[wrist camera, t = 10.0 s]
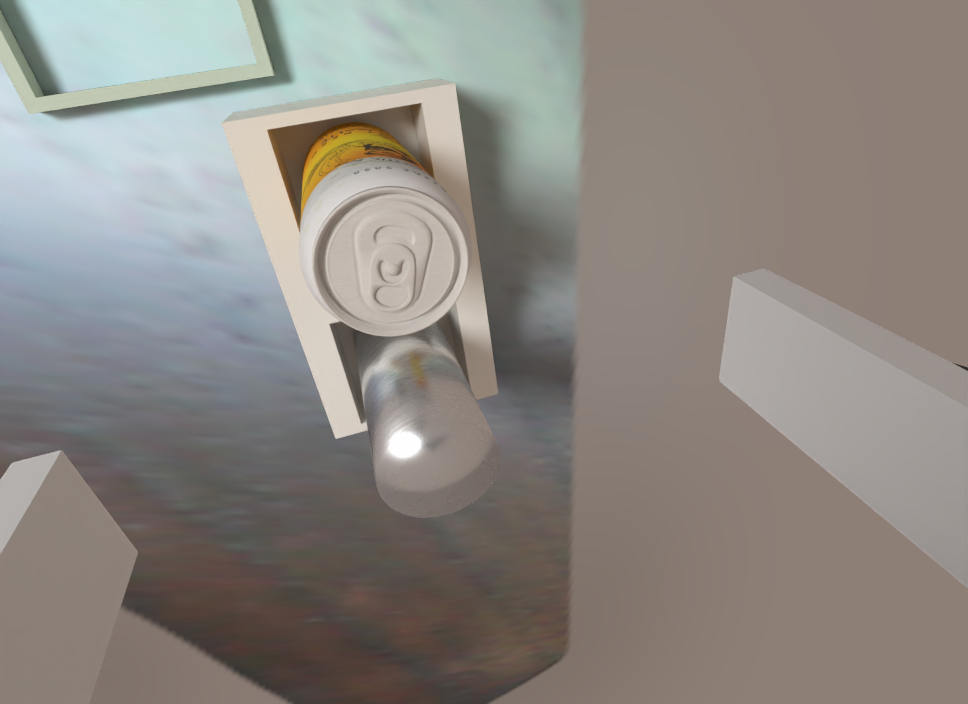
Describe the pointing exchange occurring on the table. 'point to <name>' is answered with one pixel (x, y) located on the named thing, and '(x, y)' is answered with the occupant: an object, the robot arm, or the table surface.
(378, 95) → the dock
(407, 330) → the beer can
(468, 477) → the shiny metal cylinder
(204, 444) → the table surface
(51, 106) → the empty picture frame
